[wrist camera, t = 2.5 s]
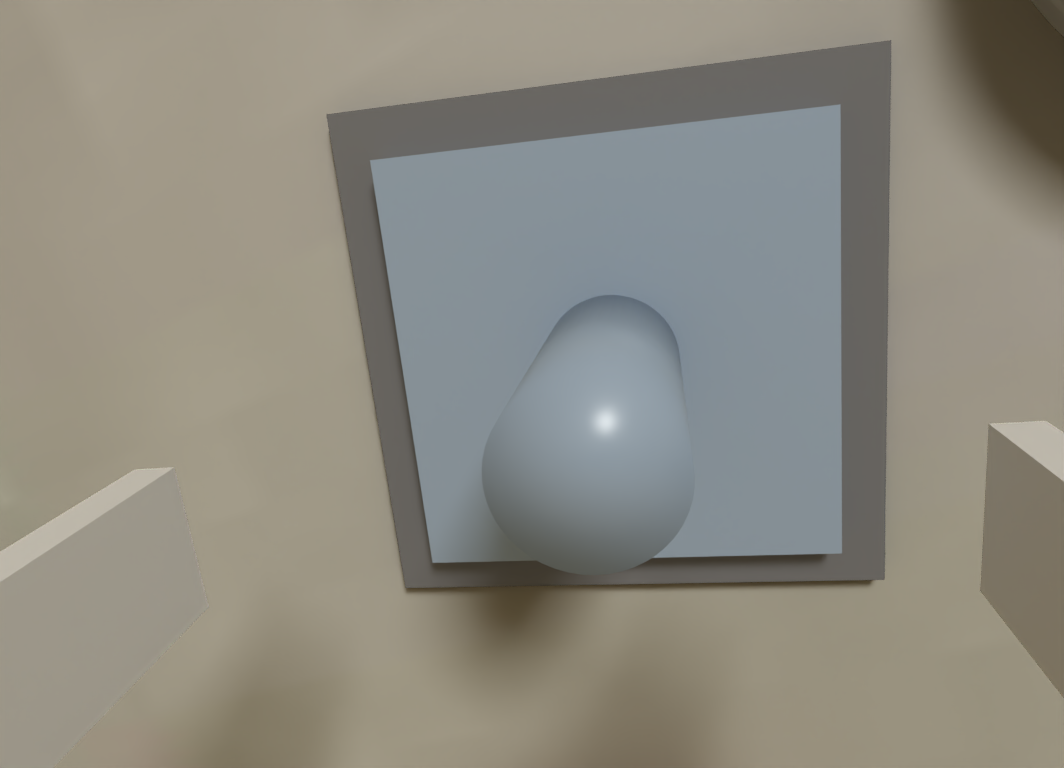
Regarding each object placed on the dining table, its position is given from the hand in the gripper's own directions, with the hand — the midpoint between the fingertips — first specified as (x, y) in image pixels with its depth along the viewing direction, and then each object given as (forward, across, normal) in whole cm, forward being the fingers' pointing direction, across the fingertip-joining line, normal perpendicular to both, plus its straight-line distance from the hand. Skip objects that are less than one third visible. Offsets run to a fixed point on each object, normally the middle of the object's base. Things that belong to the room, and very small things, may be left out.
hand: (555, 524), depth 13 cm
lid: (+12, 0, 0) cm, 12 cm away
